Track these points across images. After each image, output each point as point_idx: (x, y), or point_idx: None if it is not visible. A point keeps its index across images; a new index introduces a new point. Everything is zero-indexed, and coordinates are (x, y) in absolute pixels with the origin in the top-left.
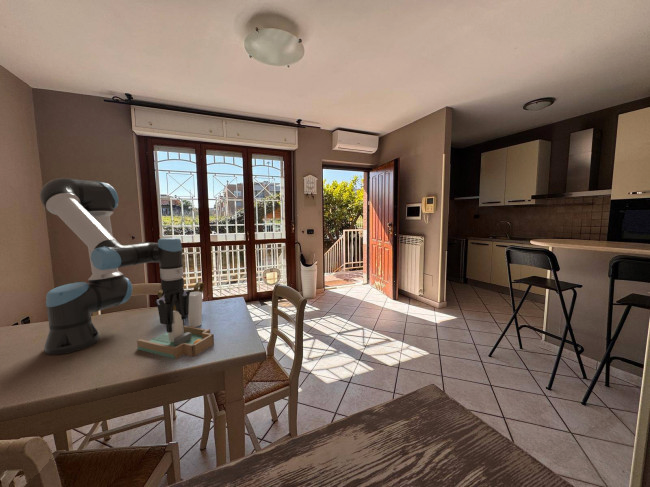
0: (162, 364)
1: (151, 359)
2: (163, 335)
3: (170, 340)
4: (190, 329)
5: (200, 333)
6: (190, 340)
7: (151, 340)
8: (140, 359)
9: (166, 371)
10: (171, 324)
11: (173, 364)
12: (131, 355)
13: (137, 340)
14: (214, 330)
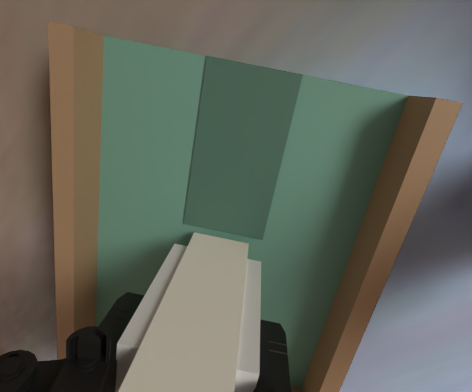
0: (33, 306)
1: (43, 227)
2: (283, 100)
3: (191, 239)
4: (349, 298)
5: (317, 360)
6: None
7: (190, 64)
8: (20, 168)
9: (5, 350)
10: (116, 383)
11: (52, 347)
12: (27, 67)
13: (49, 28)
14: (428, 358)
